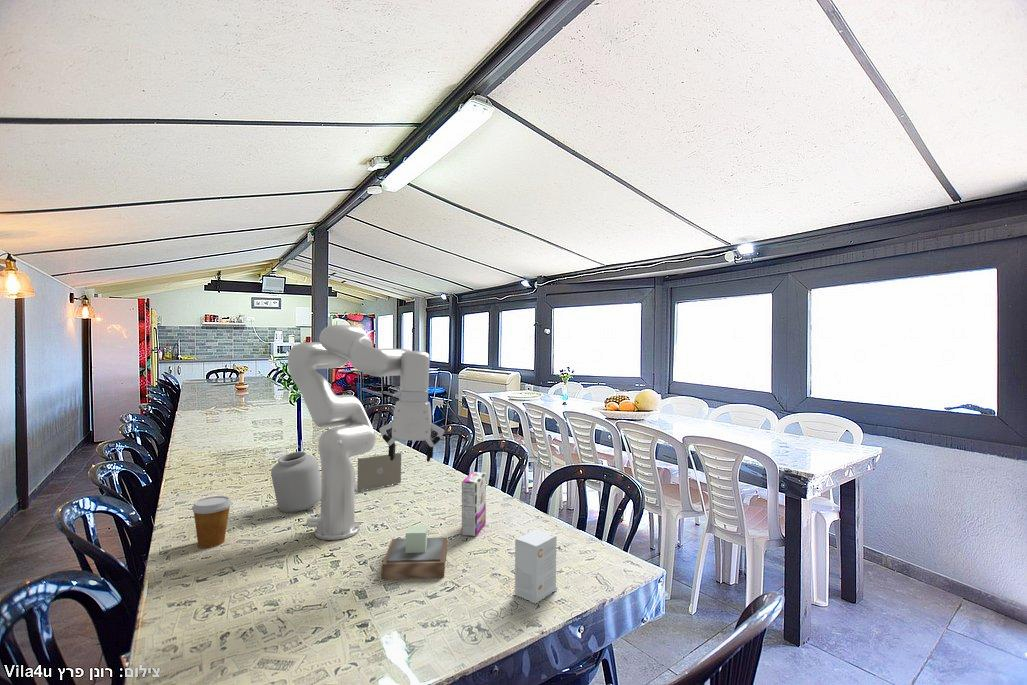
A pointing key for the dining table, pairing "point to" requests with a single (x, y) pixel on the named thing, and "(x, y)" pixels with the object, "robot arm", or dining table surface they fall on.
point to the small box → (535, 565)
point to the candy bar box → (473, 503)
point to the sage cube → (416, 539)
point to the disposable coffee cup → (211, 520)
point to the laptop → (378, 472)
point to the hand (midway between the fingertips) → (410, 459)
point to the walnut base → (415, 560)
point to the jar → (296, 481)
